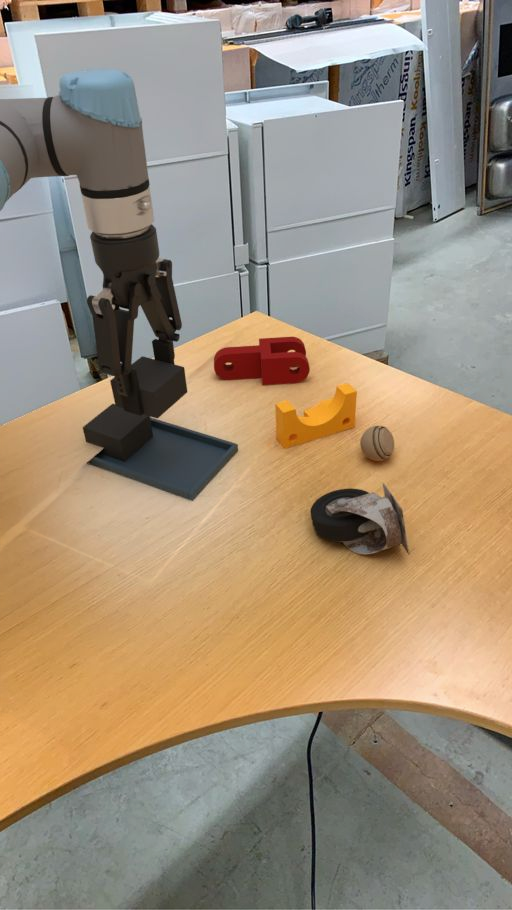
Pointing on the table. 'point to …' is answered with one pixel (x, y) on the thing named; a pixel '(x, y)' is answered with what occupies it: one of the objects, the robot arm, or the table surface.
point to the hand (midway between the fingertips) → (151, 397)
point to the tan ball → (377, 443)
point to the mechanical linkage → (264, 361)
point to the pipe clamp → (316, 418)
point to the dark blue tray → (173, 460)
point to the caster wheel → (360, 520)
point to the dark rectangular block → (156, 385)
